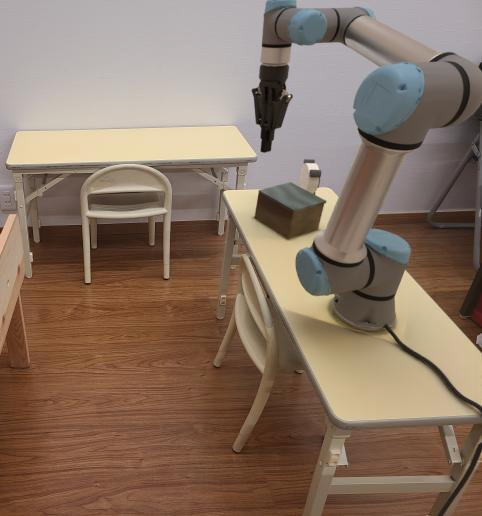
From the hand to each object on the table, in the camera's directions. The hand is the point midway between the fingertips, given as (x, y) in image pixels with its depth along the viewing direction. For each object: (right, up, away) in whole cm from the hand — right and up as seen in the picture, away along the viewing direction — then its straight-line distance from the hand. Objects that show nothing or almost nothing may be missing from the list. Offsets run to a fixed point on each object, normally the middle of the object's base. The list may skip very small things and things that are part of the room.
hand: (265, 151), depth 141 cm
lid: (+15, -10, +23) cm, 29 cm away
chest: (+14, -19, +28) cm, 37 cm away
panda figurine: (+25, -10, +42) cm, 50 cm away
